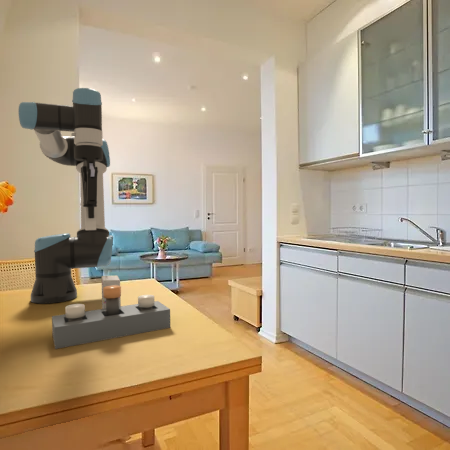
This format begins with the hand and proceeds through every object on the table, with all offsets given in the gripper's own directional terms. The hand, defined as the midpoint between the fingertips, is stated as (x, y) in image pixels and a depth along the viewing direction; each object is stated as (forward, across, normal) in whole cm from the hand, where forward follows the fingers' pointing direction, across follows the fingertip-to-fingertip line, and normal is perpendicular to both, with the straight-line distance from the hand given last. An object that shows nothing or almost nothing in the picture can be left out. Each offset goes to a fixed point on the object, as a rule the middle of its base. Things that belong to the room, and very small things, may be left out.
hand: (90, 229), depth 99 cm
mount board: (+26, +12, +3) cm, 29 cm away
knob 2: (+26, +12, +12) cm, 31 cm away
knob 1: (+26, +12, -6) cm, 29 cm away
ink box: (+27, -2, +5) cm, 27 cm away
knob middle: (+22, +12, +3) cm, 25 cm away
